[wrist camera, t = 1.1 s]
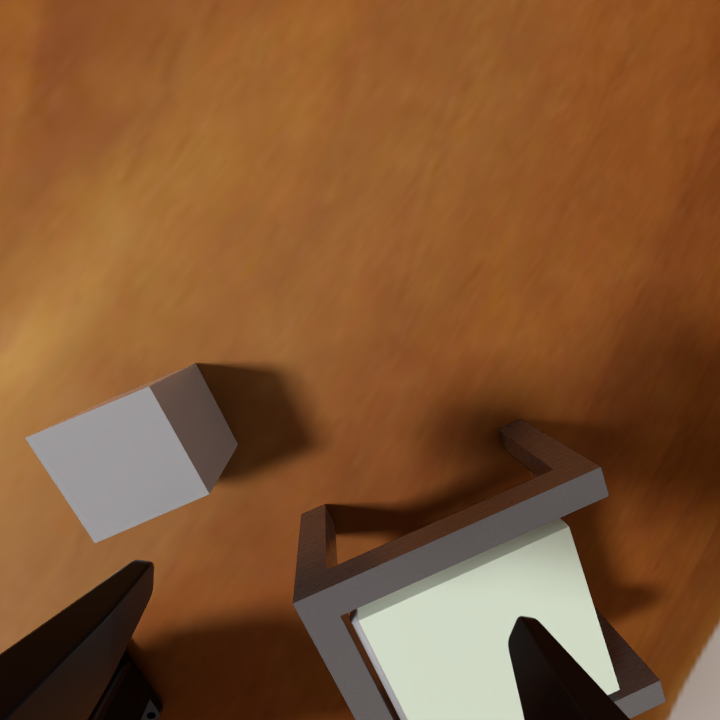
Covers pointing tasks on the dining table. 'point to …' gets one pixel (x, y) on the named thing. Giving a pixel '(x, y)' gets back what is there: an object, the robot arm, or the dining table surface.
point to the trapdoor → (481, 628)
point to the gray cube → (138, 452)
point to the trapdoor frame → (440, 551)
